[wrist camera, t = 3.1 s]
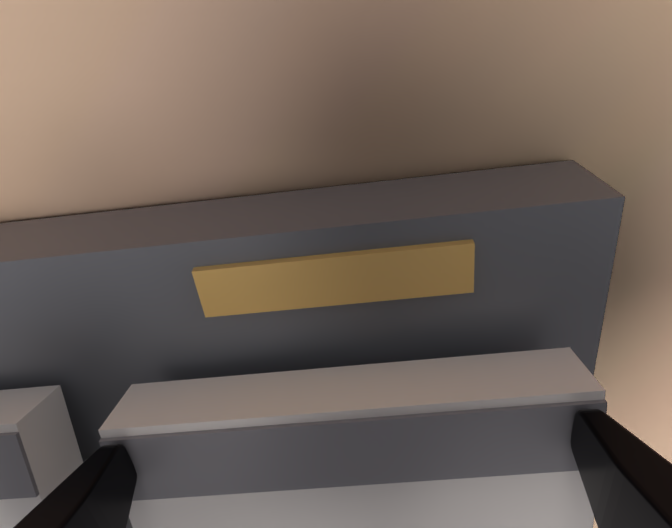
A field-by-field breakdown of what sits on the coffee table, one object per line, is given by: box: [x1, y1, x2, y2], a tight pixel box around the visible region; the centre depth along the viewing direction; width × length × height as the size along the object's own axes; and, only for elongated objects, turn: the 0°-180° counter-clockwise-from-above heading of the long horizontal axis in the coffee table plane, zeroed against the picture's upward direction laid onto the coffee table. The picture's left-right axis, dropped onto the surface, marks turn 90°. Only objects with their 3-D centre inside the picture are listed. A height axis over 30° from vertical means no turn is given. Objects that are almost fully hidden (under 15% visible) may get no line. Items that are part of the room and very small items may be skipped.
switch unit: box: [0, 160, 625, 528], centre depth 15 cm, size 15×24×4 cm, turn 97°
